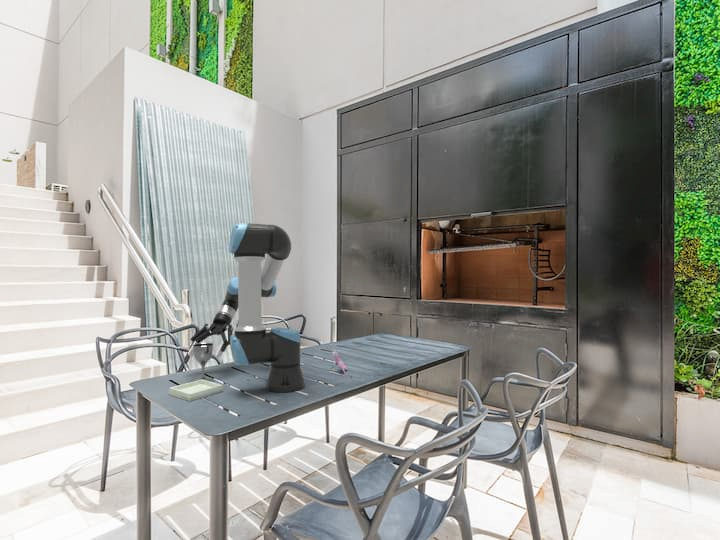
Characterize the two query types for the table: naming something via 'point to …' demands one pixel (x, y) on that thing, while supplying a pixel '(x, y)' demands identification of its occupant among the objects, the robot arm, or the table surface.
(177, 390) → the white tray
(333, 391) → the table surface
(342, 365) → the lily
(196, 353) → the wine glass
